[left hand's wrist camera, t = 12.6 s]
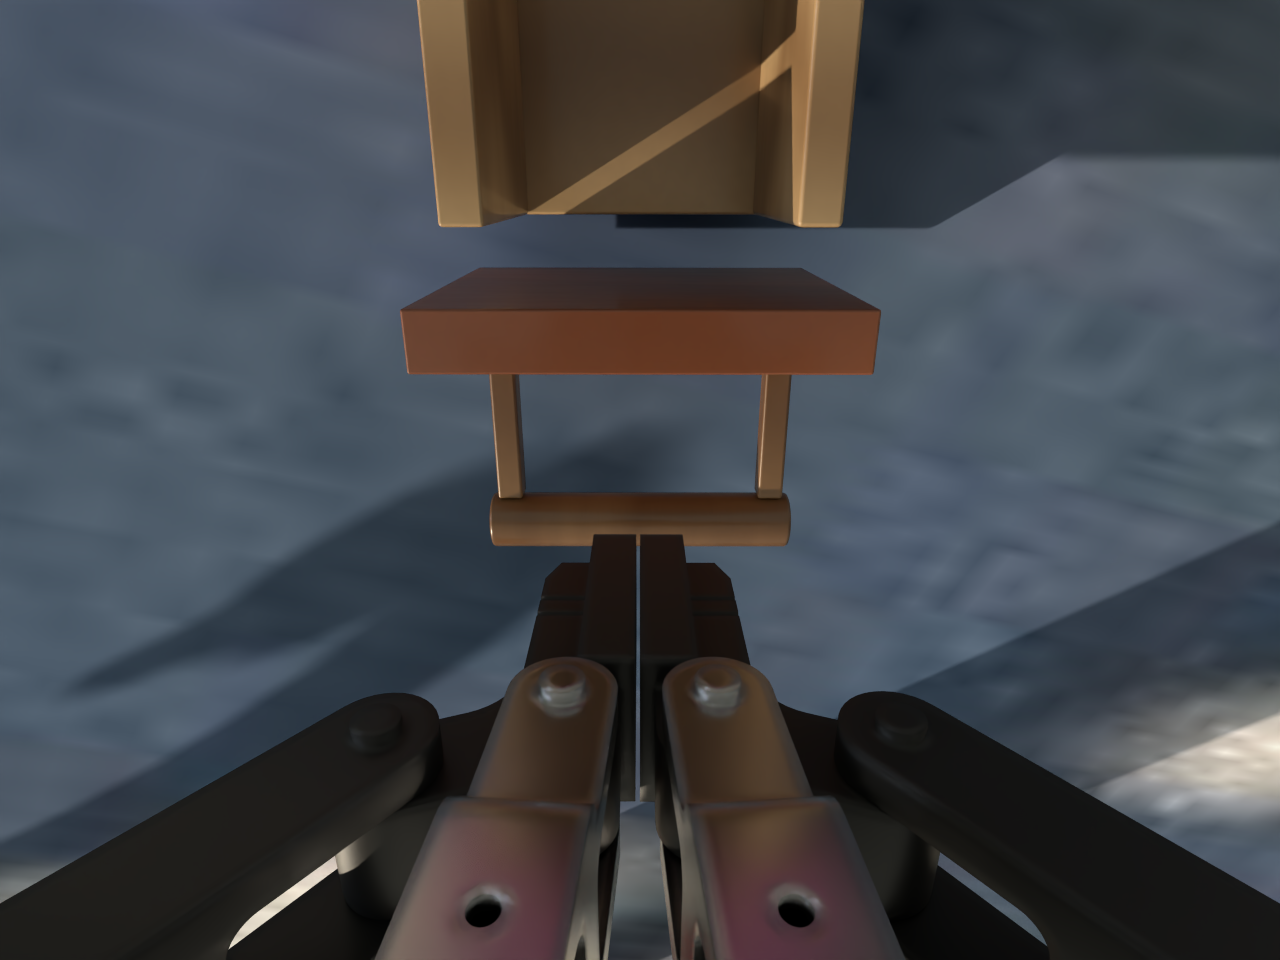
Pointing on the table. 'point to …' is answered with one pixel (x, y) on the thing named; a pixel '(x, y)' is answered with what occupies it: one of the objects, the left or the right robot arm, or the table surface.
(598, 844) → the left robot arm
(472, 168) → the wooden drawer
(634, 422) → the table surface
